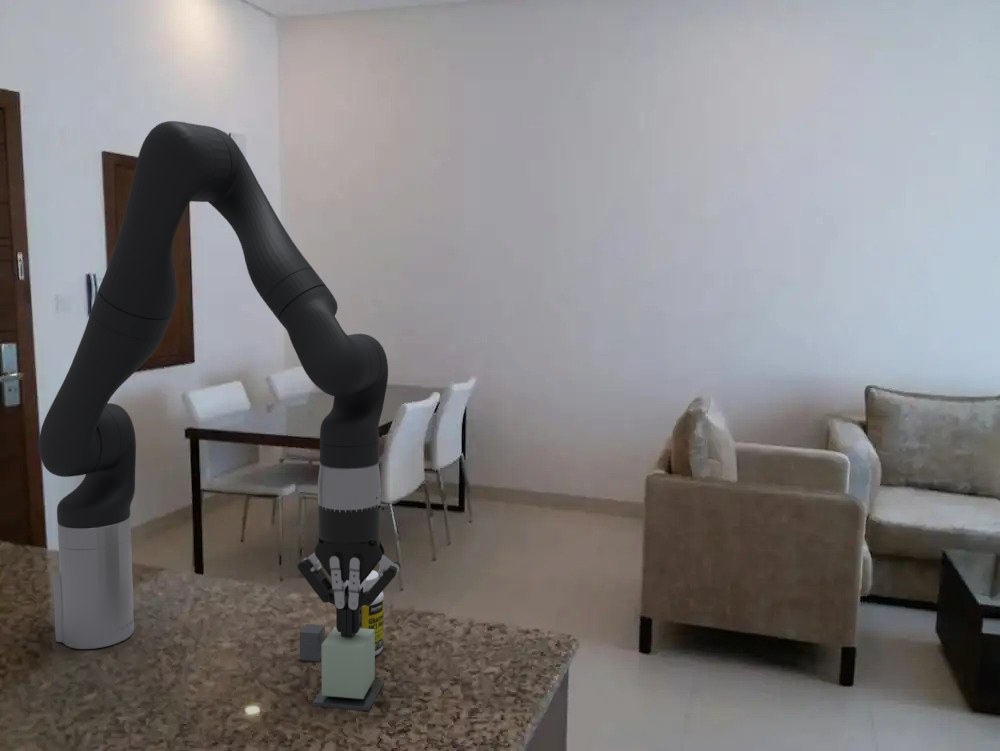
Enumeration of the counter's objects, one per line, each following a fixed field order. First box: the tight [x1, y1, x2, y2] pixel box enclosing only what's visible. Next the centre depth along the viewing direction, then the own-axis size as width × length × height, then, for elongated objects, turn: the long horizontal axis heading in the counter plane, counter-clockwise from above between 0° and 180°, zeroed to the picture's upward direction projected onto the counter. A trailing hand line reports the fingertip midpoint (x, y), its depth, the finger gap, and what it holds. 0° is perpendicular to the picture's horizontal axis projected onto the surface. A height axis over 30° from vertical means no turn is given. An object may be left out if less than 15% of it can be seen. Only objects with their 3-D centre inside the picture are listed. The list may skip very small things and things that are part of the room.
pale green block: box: [321, 625, 376, 699], centre depth 104 cm, size 5×5×7 cm
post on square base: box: [312, 678, 385, 712], centre depth 104 cm, size 7×7×7 cm
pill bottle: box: [361, 569, 385, 656], centre depth 116 cm, size 6×6×11 cm
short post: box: [299, 623, 326, 663], centre depth 114 cm, size 3×3×4 cm
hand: (349, 634), depth 103 cm, fingers closed
